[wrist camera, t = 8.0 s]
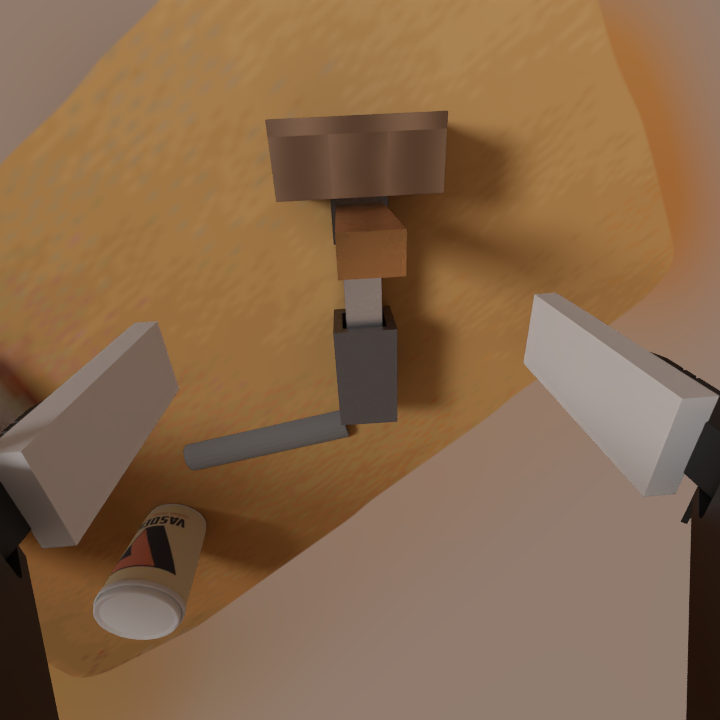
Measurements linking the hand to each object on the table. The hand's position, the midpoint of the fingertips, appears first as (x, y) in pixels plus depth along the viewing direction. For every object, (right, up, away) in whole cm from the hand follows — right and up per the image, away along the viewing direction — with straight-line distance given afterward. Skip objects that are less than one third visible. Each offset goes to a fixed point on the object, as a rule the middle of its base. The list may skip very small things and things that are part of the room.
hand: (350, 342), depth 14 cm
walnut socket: (0, +16, +19) cm, 25 cm away
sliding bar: (0, +8, +23) cm, 24 cm away
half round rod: (-11, -10, +33) cm, 36 cm away
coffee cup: (-24, -22, +39) cm, 51 cm away
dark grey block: (+1, 0, +28) cm, 28 cm away
